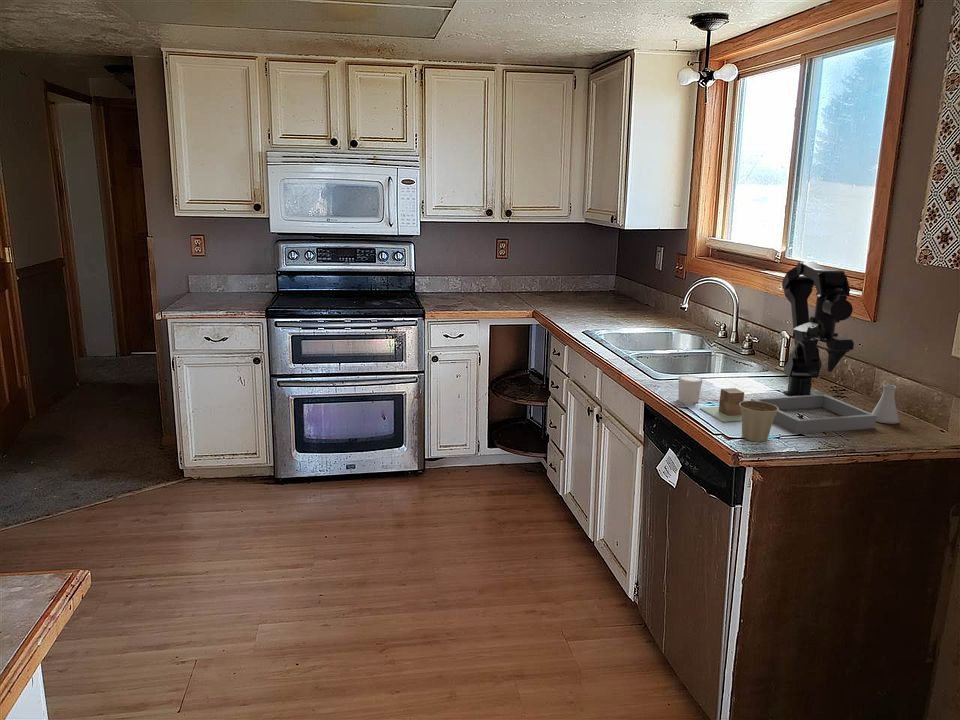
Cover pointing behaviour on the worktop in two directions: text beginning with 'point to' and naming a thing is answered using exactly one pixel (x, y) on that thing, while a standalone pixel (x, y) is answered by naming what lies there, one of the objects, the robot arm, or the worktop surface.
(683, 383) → the shot glass
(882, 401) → the flask
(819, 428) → the grey rimmed tray
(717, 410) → the mat
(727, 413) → the walnut block
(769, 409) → the flower pot
